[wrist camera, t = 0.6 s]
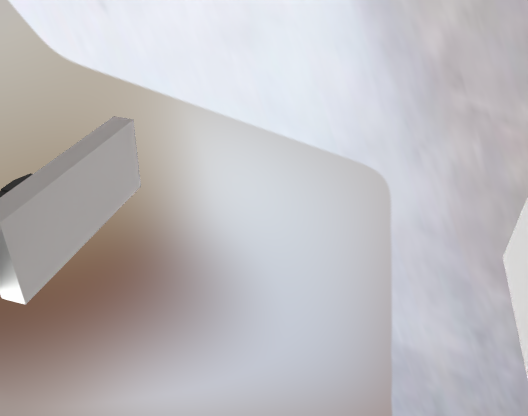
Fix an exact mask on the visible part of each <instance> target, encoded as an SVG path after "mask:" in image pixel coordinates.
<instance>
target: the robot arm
mask: <svg viewBox="0 0 528 416" xmlns="http://www.w3.org/2000/svg"><path fill="white" fill-rule="evenodd" d="M140 187H141V183H140V174H139V165H138V156H137V147H136V138H135V130H134V121H133V120H132V119H127V118H121V117H115V116H114V117H112V118H111V119H110V120H108V121H107V122H106V123H104V124H103V125H101V126H100V127H98V128H97V129H96V130H94V131H93V132H91V133H90V134H89V135H87V136H86V137H84V138H83V139H82V140H80V141H79V142H77V143H76V144H75V145H73V146H72V147H70V148H69V149H68V150H66V151H65V152H63V153H62V154H61V155H59V156H58V157H56V158H55V159H54V160H52V161H51V162H49V163H48V164H47V165H45V166H44V167H42V168H41V169H40V170H38V171H37V172H35V173H34V174H28V175H26V176H23V177H21V178H18V179H16V180H14V181H12V182H11V183H9V184H8V185H6V186H5V187H3V188H2V189H1V191H0V295H1V297H2V298H3V299H6V300H11V301H14V302H18V303H22V304H27V303H28V301H30V299H31V298H32V297H33V296H34V295H35V294H36V293H37V292H38V291H39V290H40V289H41V288H42V287H43V286H44V285H45V284H46V283H47V282H48V281H49V280H50V279H51V278H52V277H53V276H54V275H55V274H56V273H57V272H58V271H59V270H60V269H61V268H62V267H63V266H64V265H65V264H66V262H67V261H69V260H70V258H71V257H72V256H73V255H74V254H75V253H76V252H77V251H78V250H79V249H80V248H81V247H82V246H83V245H84V244H85V243H86V242H87V241H88V240H89V239H90V238H91V237H92V236H93V235H94V234H95V233H96V232H97V231H98V230H99V229H100V228H101V227H102V226H103V225H104V224H105V223H106V222H107V221H108V220H109V219H110V218H111V216H112V215H113V214H114V213H115V212H116V211H117V210H118V209H119V208H120V207H121V206H122V205H123V204H124V203H125V202H126V201H127V200H128V199H129V198H130V197H131V196H132V195H133V194H134V193H135V192H136V191H137V190H138V189H139V188H140ZM503 261H504V266H505V271H506V275H507V280H508V285H509V290H510V295H511V300H512V305H513V310H514V315H515V320H516V324H517V329H518V334H519V339H520V344H521V349H522V354H523V359H524V364H525V369H526V373H527V378H528V197H527V200H526V202H525V204H524V207H523V209H522V212H521V214H520V217H519V219H518V221H517V224H516V226H515V229H514V231H513V234H512V236H511V239H510V241H509V243H508V246H507V248H506V251H505V253H504V256H503Z"/></svg>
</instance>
